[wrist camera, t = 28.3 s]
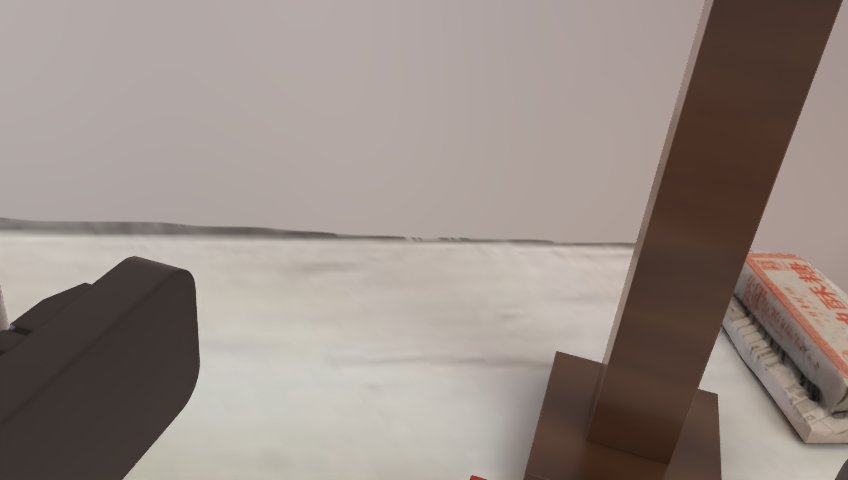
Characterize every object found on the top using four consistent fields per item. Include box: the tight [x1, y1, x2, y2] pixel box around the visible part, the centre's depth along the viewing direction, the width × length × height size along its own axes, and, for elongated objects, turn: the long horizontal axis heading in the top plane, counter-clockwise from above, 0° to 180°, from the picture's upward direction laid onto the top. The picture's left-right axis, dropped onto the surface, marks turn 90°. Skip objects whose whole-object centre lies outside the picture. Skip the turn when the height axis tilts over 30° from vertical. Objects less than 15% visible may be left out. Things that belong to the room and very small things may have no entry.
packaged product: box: [722, 253, 848, 443], centre depth 57 cm, size 18×5×10 cm
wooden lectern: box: [524, 0, 843, 480], centre depth 39 cm, size 13×11×34 cm
